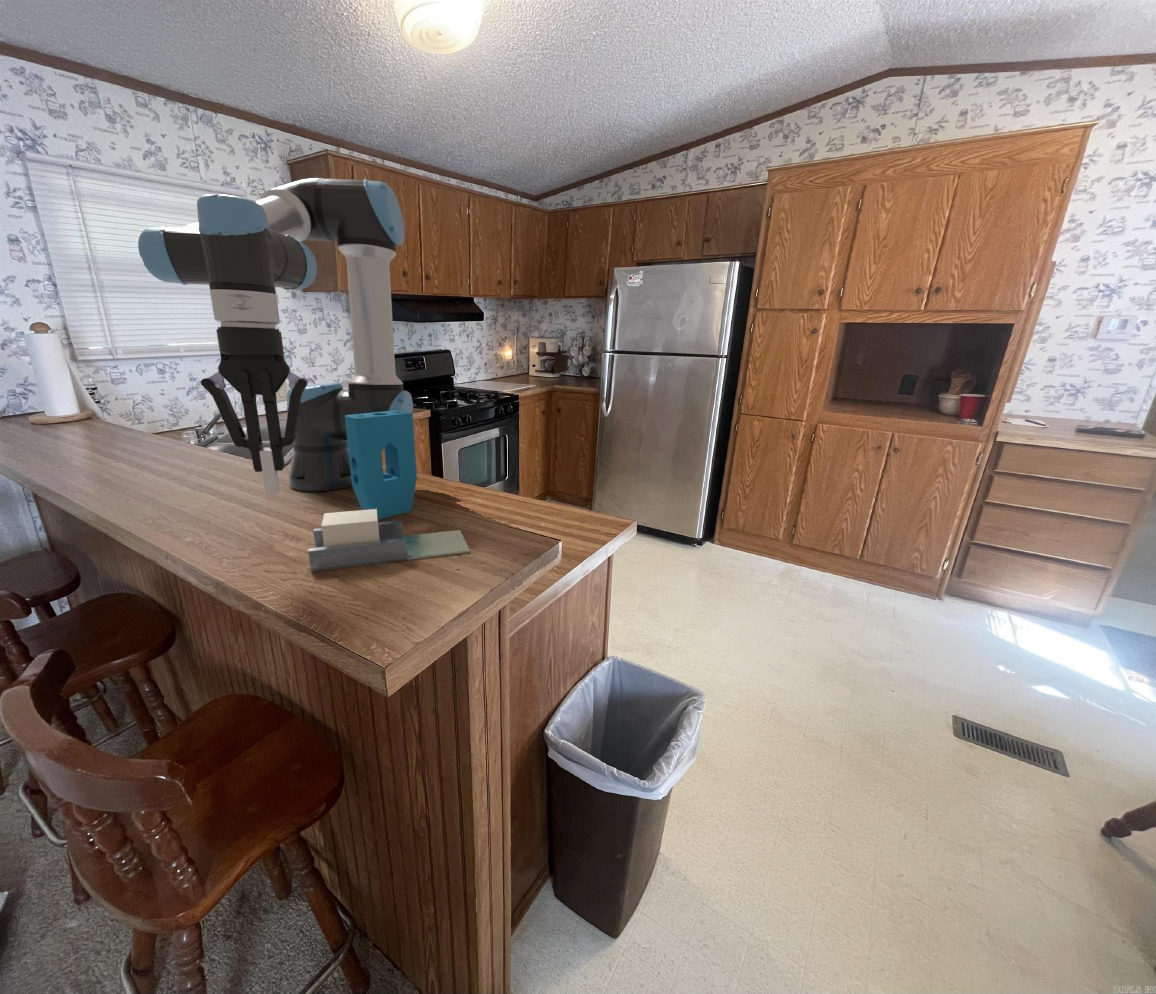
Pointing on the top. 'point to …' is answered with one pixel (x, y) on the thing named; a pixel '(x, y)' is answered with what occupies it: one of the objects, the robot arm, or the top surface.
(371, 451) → the block
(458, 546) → the chute
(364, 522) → the block
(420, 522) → the top surface
